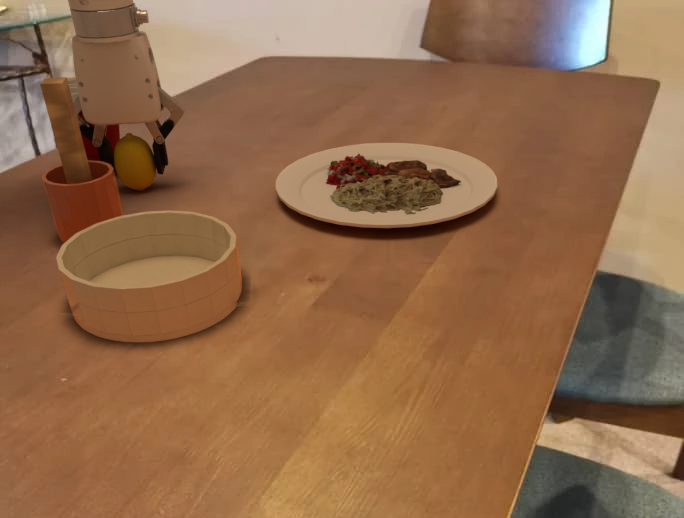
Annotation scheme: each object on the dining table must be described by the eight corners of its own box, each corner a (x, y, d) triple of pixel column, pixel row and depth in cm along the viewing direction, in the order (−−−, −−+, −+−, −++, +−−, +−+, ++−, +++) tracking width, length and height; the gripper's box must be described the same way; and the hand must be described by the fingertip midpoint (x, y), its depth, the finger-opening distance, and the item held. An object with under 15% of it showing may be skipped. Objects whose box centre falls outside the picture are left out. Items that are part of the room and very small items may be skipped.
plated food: (455, 256, 84) (458, 228, 82) (235, 218, 94) (232, 192, 92) (520, 169, 105) (524, 145, 102) (333, 146, 115) (332, 123, 112)
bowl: (55, 348, 72) (37, 293, 68) (90, 264, 85) (76, 215, 81) (240, 336, 72) (232, 282, 68) (244, 255, 86) (238, 206, 82)
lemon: (148, 202, 99) (135, 141, 94) (113, 198, 101) (99, 138, 95) (168, 187, 103) (157, 128, 98) (134, 183, 104) (122, 125, 99)
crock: (54, 252, 88) (34, 187, 83) (68, 224, 94) (50, 162, 89) (122, 248, 88) (106, 183, 83) (132, 221, 94) (117, 158, 89)
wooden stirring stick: (72, 240, 89) (28, 86, 78) (79, 225, 92) (37, 76, 81) (108, 238, 89) (69, 84, 78) (113, 223, 92) (77, 74, 81)
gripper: (179, 14, 91) (201, 159, 103) (41, 20, 91) (79, 166, 102) (173, 26, 86) (197, 178, 97) (26, 33, 85) (68, 185, 97)
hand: (136, 171), depth 100 cm, fingers open, 6 cm apart
